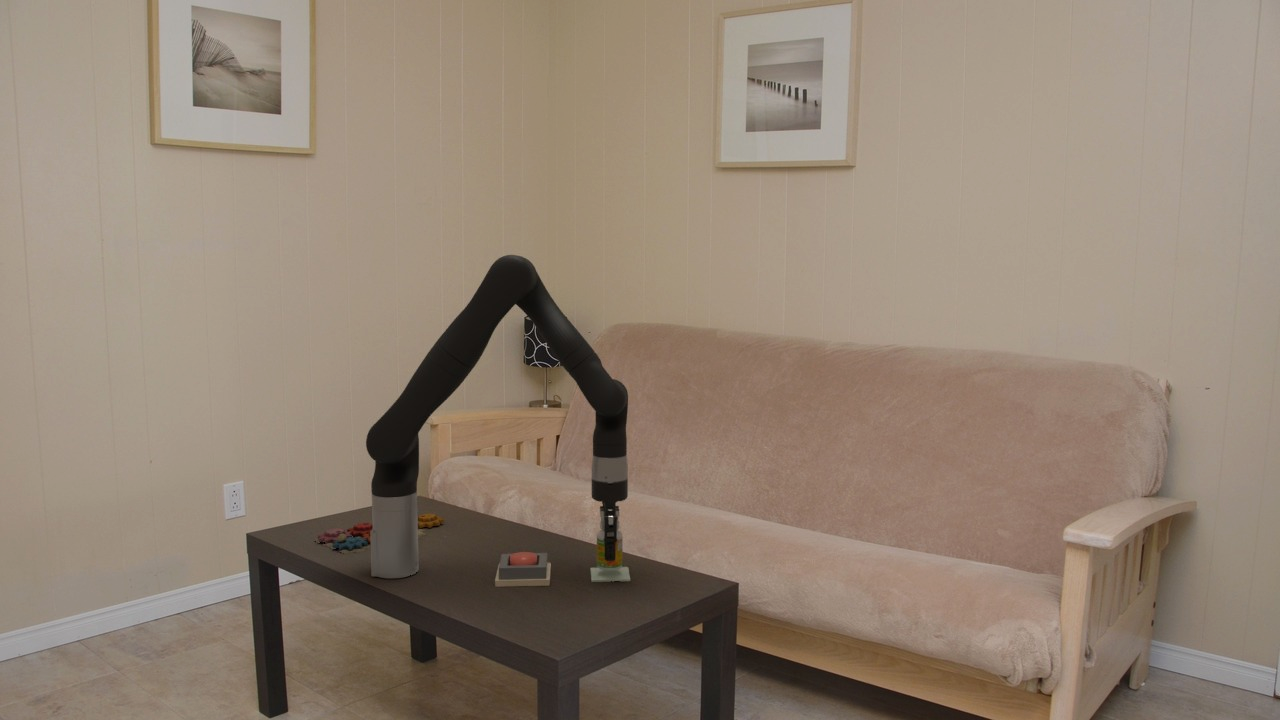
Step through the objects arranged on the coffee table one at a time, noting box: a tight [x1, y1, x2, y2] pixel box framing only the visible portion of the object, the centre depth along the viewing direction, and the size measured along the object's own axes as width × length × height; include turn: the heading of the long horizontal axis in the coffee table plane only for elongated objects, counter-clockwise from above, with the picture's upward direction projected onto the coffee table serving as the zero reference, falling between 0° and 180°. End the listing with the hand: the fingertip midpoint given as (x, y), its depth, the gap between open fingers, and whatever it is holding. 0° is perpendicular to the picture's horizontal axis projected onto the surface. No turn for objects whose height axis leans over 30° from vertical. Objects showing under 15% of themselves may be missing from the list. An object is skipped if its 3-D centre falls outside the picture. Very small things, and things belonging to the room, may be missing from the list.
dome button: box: [510, 551, 537, 566], centre depth 199 cm, size 6×6×3 cm
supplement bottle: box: [596, 520, 624, 571], centre depth 200 cm, size 5×5×10 cm
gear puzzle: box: [315, 513, 445, 553], centre depth 230 cm, size 31×16×4 cm, turn 135°
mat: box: [590, 566, 631, 583], centre depth 201 cm, size 8×8×1 cm
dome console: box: [494, 552, 552, 588], centre depth 200 cm, size 11×11×4 cm
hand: (609, 555), depth 201 cm, fingers closed on supplement bottle, 5 cm apart
